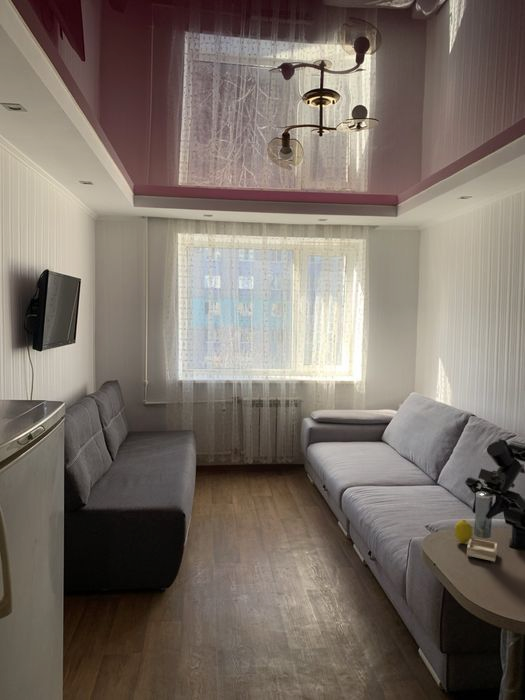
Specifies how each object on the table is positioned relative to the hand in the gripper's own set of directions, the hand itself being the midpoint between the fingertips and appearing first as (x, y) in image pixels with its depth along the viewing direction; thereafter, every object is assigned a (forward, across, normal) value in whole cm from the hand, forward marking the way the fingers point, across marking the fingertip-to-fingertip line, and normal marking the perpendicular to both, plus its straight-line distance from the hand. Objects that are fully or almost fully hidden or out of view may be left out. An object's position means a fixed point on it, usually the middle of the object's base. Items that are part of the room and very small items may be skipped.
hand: (480, 515), depth 161 cm
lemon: (+7, -9, +12) cm, 17 cm away
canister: (+4, 0, +6) cm, 7 cm away
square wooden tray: (+8, 0, +10) cm, 13 cm away
